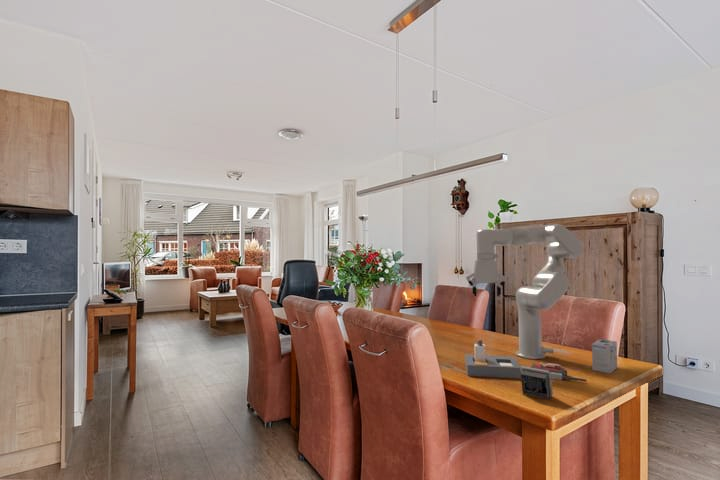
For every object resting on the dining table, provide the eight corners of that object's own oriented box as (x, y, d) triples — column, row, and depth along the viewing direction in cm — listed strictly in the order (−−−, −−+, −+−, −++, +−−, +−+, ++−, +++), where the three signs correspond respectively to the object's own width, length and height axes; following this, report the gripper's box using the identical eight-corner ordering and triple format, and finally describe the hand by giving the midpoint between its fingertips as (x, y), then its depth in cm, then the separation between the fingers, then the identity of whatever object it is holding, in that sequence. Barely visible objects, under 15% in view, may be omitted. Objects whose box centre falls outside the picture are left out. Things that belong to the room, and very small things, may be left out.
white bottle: (485, 368, 154) (484, 339, 154) (485, 371, 150) (485, 341, 150) (474, 368, 155) (474, 338, 155) (475, 371, 151) (475, 341, 151)
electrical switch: (553, 396, 124) (551, 369, 124) (549, 403, 120) (548, 374, 119) (523, 390, 130) (522, 364, 129) (519, 396, 126) (517, 369, 125)
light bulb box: (599, 364, 159) (598, 338, 159) (618, 367, 154) (617, 341, 154) (591, 370, 151) (591, 343, 151) (611, 373, 146) (610, 346, 147)
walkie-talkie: (526, 375, 146) (586, 385, 135) (526, 364, 146) (586, 373, 135) (530, 369, 153) (587, 378, 142) (530, 358, 153) (587, 366, 143)
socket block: (514, 366, 157) (514, 355, 157) (522, 378, 141) (522, 367, 142) (465, 363, 161) (464, 353, 161) (467, 375, 146) (467, 364, 146)
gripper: (505, 257, 168) (506, 295, 168) (465, 257, 172) (465, 294, 171) (508, 257, 161) (508, 297, 160) (466, 257, 165) (466, 296, 164)
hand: (486, 296), depth 166 cm, fingers open, 9 cm apart
